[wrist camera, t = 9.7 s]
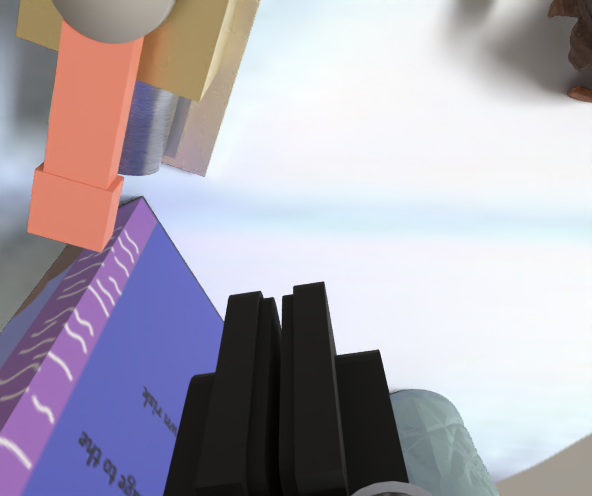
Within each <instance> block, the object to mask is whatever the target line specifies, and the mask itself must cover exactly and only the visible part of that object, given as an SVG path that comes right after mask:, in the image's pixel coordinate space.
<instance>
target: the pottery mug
mask: <svg viewBox="0 0 592 496" xmlns="http://www.w3.org/2000/svg"><path fill="white" fill-rule="evenodd" d="M547 16H548V17H550V18H551V17H553V16H570V17H577V18H578V22H577V23H576V25H575V26H574V27H573V29H572V33H571V36H570V46H571V49H570V52H569V55H568V59H569V61H570V63H571V64H572V65H573V66H574V68H575V69H576V70H578V71H583V70H584V69H585V68H587V67H589V66H590V65H591V64H592V0H554V1H553V3H552V4H551V7H550V9H549V12H548V15H547ZM567 94H568V95H569V96H570V97H572V98H575V99H577V100H581V101H585V102H591V103H592V90H590V89H587V88H585V87H582V86H576V87H575V88H573V89H570V90H569V91H568V93H567Z"/></svg>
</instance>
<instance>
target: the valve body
mask: <svg viewBox="0 0 592 496" xmlns="http://www.w3.org/2000/svg"><path fill="white" fill-rule="evenodd" d="M260 1H261V0H176V3H175V5H174V7H173V10H172V12H171V13H170V15H169V16H168V18H167V19H166V20H165V21H164V22H163V23H162V24H161V25H160V26H159V27H158V28H156V29H155V30H153V31H152V32H150V33H148V34H146V35H145V36H144V40H143V45H142V50H141V55H140V60H139V66H138V71H137V76H136V81H135V86H134V91H133V96H132V101H131V106H130V112H129V117H128V122H127V127H126V132H125V137H124V142H123V147H122V152H121V157H120V163H119V168H118V173H117V174H123V175H132V176H143V175H150V174H153V173H155V172H157V171H158V170H159V168H160V165H161V162H162V163H165V164H168V165H171V166H174V167H177V168H180V169H183V170H186V171H189V172H192V173H194V174H197V175H200V176H203V177H205V174H206V172H207V169H208V165H209V162H210V159H211V156H212V153H213V150H214V146H215V143H216V140H217V137H218V134H219V131H220V127H221V124H222V121H223V118H224V115H225V112H226V108H227V105H228V102H229V99H230V96H231V93H232V89H233V86H234V83H235V80H236V77H237V74H238V70H239V67H240V64H241V61H242V58H243V55H244V51H245V48H246V45H247V42H248V39H249V36H250V32H251V29H252V26H253V23H254V20H255V17H256V13H257V10H258V7H259V4H260ZM62 21H63V17H62V16H61V14H60V13H59V12H58V10H57V9H56V8H55V6H54V4H53V2H52V1H51V0H20V7H19V14H18V22H17V29H16V36H17V37H19V38H22V39H25V40H28V41H30V42H33V43H36V44H39V45H41V46H44V47H47V48H50V49H53V50H55V51H58V52H59V45H60V37H61V29H62ZM53 91H54V89H53ZM52 98H53V95H52ZM51 106H52V101H51ZM50 114H51V107H50V113H49V119H48V124H49V121H50Z"/></svg>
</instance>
